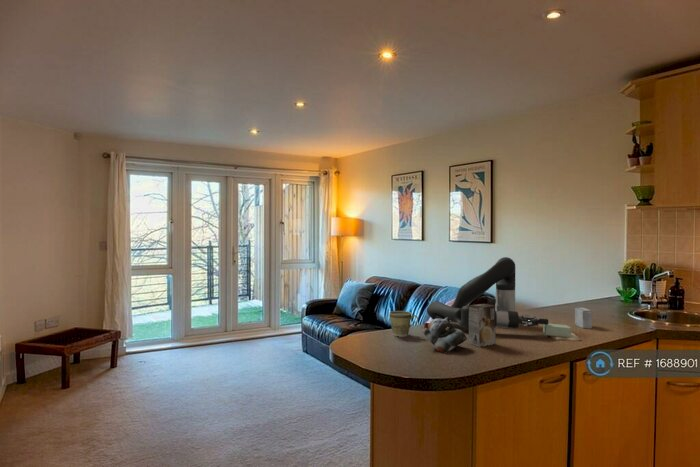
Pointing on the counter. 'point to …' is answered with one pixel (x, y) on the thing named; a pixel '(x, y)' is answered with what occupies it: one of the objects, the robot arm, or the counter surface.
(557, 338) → the beech board
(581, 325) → the medicine box
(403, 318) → the ceramic cup
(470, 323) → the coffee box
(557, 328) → the sage block
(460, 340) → the grey stuffed animal
